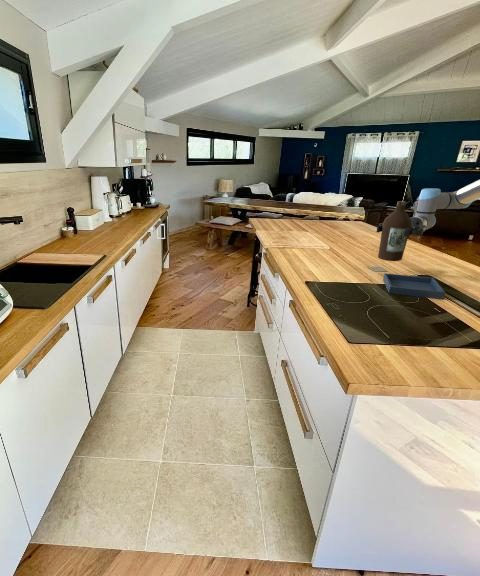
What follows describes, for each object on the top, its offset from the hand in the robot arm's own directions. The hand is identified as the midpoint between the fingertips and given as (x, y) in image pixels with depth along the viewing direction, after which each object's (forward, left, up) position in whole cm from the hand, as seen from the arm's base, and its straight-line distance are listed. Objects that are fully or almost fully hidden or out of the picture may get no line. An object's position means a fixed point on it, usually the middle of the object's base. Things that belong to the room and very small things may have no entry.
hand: (391, 231), depth 135 cm
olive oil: (-2, -3, -13) cm, 14 cm away
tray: (-8, +16, -20) cm, 27 cm away
